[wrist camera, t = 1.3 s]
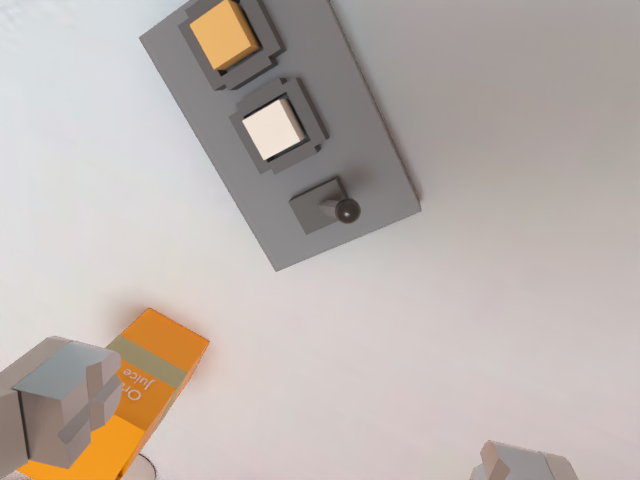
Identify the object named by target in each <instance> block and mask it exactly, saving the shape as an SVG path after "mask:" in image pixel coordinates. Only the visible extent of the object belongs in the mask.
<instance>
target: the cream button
mask: <svg viewBox="0 0 640 480" xmlns="http://www.w3.org/2000/svg"><path fill="white" fill-rule="evenodd" d="M242 122H243V123H244V125H245V127H246V129H247V131H248V133H249V134H250V136H251V138H252V140H253V142H254V144H255V145H256V147H257V149H258V151H259V153H260V154H261V156H262V158H263V160H265V159H267V158H269V157H271V156H273V155H275V154H277V153H279V152H281V151H282V150H284V149H286V148H288V147H290V146H292V145H294V144H296V143H298V142H299V141H301V140H303V139H304V138H306V136H305V134H304V132H303V130H302V128H301V126H300V124H299V122H298V120H297V118H296V116H295V114H294V112H293V110H292V108H291V106H290V104H289V102H288V100H287V98H285V99H280V100H277V101H276V102H274V103H272V104H270V105H269V106H267V107H265V108H264V109H262V110H260V111H258V112H257V113H255V114H253V115H251V116H250V117H248V118H246V119H245V120H243V121H242Z"/></svg>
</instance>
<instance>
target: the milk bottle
mask: <svg viewBox="0 0 640 480" xmlns="http://www.w3.org/2000/svg"><path fill="white" fill-rule="evenodd" d="M154 479H155V471H154V469H153V466H152V465H151V464H150V462H149V461H148V460H146V459H145V458H144V457H142V456H141V455H139V454H138V456H137V457H136V458H135V460H134V461H133V463H132V464H131V466H130V467H129V469H128V470H127V472H126V473H125V475H124V476H123V477H122V478H121V479H120V480H154Z"/></svg>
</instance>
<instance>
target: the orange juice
mask: <svg viewBox="0 0 640 480" xmlns="http://www.w3.org/2000/svg"><path fill="white" fill-rule="evenodd" d="M209 342H210V341H208V340H207V339H205V338H203V337H201V336H199V335H198V334H196V333H194V332H192V331H190V330H189V329H187V328H185V327H183V326H182V325H180V324H178V323H176V322H174V321H173V320H171V319H169V318H167V317H165V316H164V315H162V314H160V313H158V312H157V311H155V310H153V309H151V308H148V309H147V310H146V311H145V312H144V313H143V314H142V315H141V316H140V317H139V318H138V319H137V320H136V321H134V322H133V323H132V324H131V325H130V326H129V327H128V328H127V329H126V330H125V331H124V332H123V333H122V334H121V335H119V336H118V337H117V338H115V339H114V340H113V341H112V342H111V343H110V344H109V345H108V346H107V347H106V348H105V349H109V350H112V351H116V352H117V353H119V354H120V356H121V367H120V368H119V370H118V371H117V372H116V375H117V376H118V377H119V379H120V380H121V382H122V393H121V398H120V402H119V404H118V406H117V408H116V410H115V412H114V414H113V416H112V417H111V418H110V419H109V421H108V422H107V423H106V425H105V426H102V427H100V428H98V429H96V430H94V431H92V432H91V443H90V444H89V445H88V446H87V448H86V449H85V450H84V451H83V452H82V454H81V455H80V456H79V457H78V458H77V460H76V461H75V462H74V463H73V464H72V466H71V467H70V468H69V469H65V468H60V467H56V466H52V465H47V464H43V463H39V462H34V461H30V460H28V463H27V464H25V465H24V466H22V467H20V468H18V469H17V471H19V472H21V473H23V474H25V475H26V476H28V477H30V478H32V479H34V480H120V479H121V478H122V477H123V476H124V475H125V473H126V472H127V470H128V469H129V467H130V466H131V464H132V463H133V461H134V460H135V458H136V457H137V456H138V454H139V453H140V451H141V450H142V448H143V447H144V445H145V444H146V442H147V441H148V440H149V438H150V437H151V435H152V434H153V432H154V431H155V430H156V429H157V427H158V426H159V424H160V423H161V421H162V420H163V418H164V417H165V415H166V414H167V412H168V410H169V409H170V407H171V406H172V405H173V403H174V402H175V400H176V399H177V397H178V396H179V394H180V393H181V391H182V390H183V389H184V387H185V386H186V384H187V383H188V381H189V380H190V378H191V376H192V374H193V372H194V370H195V368H196V367H197V365H198V363H199V361H200V359H201V357H202V355H203V353H204V351H205V350H206V348H207V346H208V344H209Z"/></svg>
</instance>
